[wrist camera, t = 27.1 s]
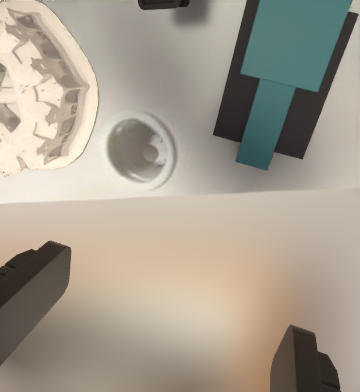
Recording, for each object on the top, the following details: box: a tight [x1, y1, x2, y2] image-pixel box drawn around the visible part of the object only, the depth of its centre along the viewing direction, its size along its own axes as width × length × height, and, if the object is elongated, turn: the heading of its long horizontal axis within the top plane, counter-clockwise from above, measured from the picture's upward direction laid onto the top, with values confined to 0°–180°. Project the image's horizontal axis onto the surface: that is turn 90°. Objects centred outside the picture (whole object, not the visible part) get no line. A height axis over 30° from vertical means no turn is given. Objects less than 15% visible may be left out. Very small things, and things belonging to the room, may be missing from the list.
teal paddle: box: [236, 0, 352, 170], centre depth 33 cm, size 8×17×1 cm, turn 168°
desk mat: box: [213, 0, 359, 159], centre depth 34 cm, size 10×14×1 cm
